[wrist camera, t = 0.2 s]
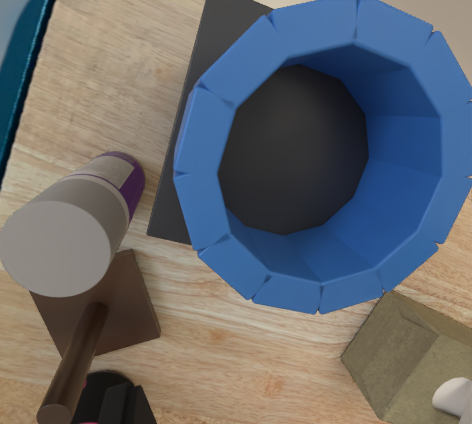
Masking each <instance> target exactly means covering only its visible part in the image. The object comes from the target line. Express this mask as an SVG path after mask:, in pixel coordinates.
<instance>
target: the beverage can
mask: <svg viewBox="0 0 472 424" xmlns="http://www.w3.org/2000/svg"><path fill="white" fill-rule="evenodd" d="M126 382H131V381H130V380H129V379H127V378H126V377H125V376H123V375H121V374H118V373H115V372H109V371H100V372H94V373H91V374H88V375H87V378H86V381H85V384H84V386H83V389H82V392H81V395H80V398H79V401H78V404H77V407H76V410H75V413H74V416H73V419H72V421H71V423H70V424H97V423H98V419H99V415H100V411H101V407H102V403H103V399H104V396H105V392H106V390H107V389H108V388H110V387H113V386H116V385H120V384H123V383H126Z"/></svg>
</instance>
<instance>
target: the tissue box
mask: <svg viewBox="0 0 472 424" xmlns="http://www.w3.org/2000/svg"><path fill="white" fill-rule="evenodd" d="M341 361H342V362H343V364H344V365H345V367H346V368H347V370H348V372H349V373H350V375H351V376H352V378H353V379H354V381H355V382H356V384H357V386H358V387H359V389H360V390H361V392H362V393H363V395H364V396H365V398H366V400H367V401H368V403H369V404H370V406H371V407H372V409H373V410H374V412H375V414H376V415H377V417H378V418H379V419H380V420H383V421H386V422H389V423H392V424H472V328H470V327H468V326H466V325H464V324H461V323H459V322H457V321H455V320H453V319H451V318H449V317H447V316H445V315H443V314H441V313H439V312H437V311H435V310H432V309H430V308H428V307H426V306H424V305H422V304H420V303H418V302H416V301H414V300H412V299H410V298H408V297H406V296H403V295H401V294H399V293H397V292H395V291H393V290H391V291H390V292H386V293H385V294H384V295H383V297H382V298H381V300H380V301H379V303H378V304H377V306H376V307H375V309H374V310H373V312H372V313H371V314H370V316H369V317H368V319H367V320H366V322H365V323H364V325H363V326H362V328H361V329H360V330H359V332H358V333H357V335H356V336H355V338H354V339H353V341H352V342H351V344H350V345H349V346H348V348H347V349H346V351H345V352H344V354H343V355H342V357H341Z"/></svg>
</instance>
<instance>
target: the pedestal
mask: <svg viewBox="0 0 472 424" xmlns="http://www.w3.org/2000/svg"><path fill="white" fill-rule="evenodd" d="M273 10H274V9H272V8H270V7H268V6H265V5H263V4H260V3H258V2H255V1H253V0H206V2H205V5H204V9H203V13H202V17H201V21H200V25H199V28H198V32H197V36H196V40H195V44H194V47H193V51H192V55H191V59H190V63H189V67H188V71H187V75H186V78H185V82H184V86H183V90H182V94H181V98H180V102H179V106H178V110H177V114H176V118H175V122H174V126H173V130H172V133H171V137H170V141H169V145H168V149H167V153H166V157H165V161H164V165H163V169H162V173H161V177H160V181H159V185H158V189H157V193H156V197H155V201H154V205H153V209H152V213H151V217H150V221H149V225H148V229H147V233H146V234H147V235H148V236H152V237H156V238H161V239H165V240H170V241H174V242H179V243H183V244H188V245H192V243H191V240H190V236H189V233H188V229H187V226H186V222H185V219H184V215H183V212H182V209H181V205H180V202H179V198H178V195H177V191H176V188H175V184H174V181H173V174H174V169H173V164H174V151H175V146H176V142H177V138H178V134H179V130H180V127H181V123H182V119H183V115H184V111H185V107H186V103H187V100H188V96H189V94H190V92H191V91H192V90H193V86H194V85H195V83H196V82H197V81H198V79H199V78H200V77H201V76H202V75H203V74H204V73H205V72H206V71H207V70H208V69H209V68H210V67H211V66H212V65H213V64H214V63H215V62H216V61H217V60H218V59H219V58H220V57H221V56H222V55H223V54H224V53H225V52H226V51H227V50H228V49H229V48H230V47H231V46H232V45H233V44H234V43H235V42H236V41H237V40H238V39H239V38H240V37H241V36H242V35H243V34H244V33H245V32H246V31H247V30H248V29H249V28H250V27H251V26H252V25H253V24H254V23H255V22H256V21H257V20H258V19H259V18H260V17H261V16H262V15H265V16H267V15H268V14H269V13H270V12H271V11H273ZM368 159H369V151H368V140H367V128H366V117H365V113H364V112H363V111H362V109H361V108H360V106H359V105H358V103H357V102H356V101H355V99H354V98H353V96H352V95H351V94H350V92H349V91H348V89H347V88H346V87H345V85H344V84H343V82H342V81H341V80H340V79H338V78H336V77H333V76H330V75H328V74H325V73H323V72H320V71H317V70H315V69H312V68H309V67H307V66H304V65H302V64H296V65H291V66H287V67H283V68H278V69H277V70H276V71H275V72H274V73H273V74H272V75H271V76H270V77H269V78H268V79H267V80H266V81H265V82H264V83H263V84H262V85H261V86H260V87H259V88H258V89H257V90H256V91H255V92H254V93H253V94H252V95H251V96H250V97H249V98H248V99H246V100H245V101H244V102H243V103H242V104H241V105H240V106H239V107H238V108H237V109H236V113H235V116H234V119H233V123H232V126H231V129H230V133H229V136H228V140H227V143H226V146H225V150H224V153H223V156H222V160H221V163H220V167H219V170H218V173H217V175H218V179H219V183H220V187H221V191H222V195H223V200H224V204H225V206H226V207H227V208H228V209H229V210H230V211H231V212H232V213H233V214H234V215H235V216H236V217H237V218H238V219H239V220H240V221H241V222H242V223H243V224H244V225H245V226H246V227H250V228H254V229H258V230H262V231H266V232H270V233H274V234H278V235H283V236H284V235H288V234H292V233H295V232H299V231H303V230H306V229H310V228H314V227H317V226H321V225H323V224H324V223H325V222H327V221H328V220H329V219H330V218H331V217H332V216H333V215H334V214H335V213H337V212H338V211H339V210H340V209H341V208H342V207H343V206H344V205H345V204H346V203H348V202H349V201H350V200H351V199H352V198H353V196H354V194H355V191H356V189H357V187H358V184H359V182H360V179H361V177H362V174H363V172H364V169H365V167H366V164H367V162H368Z"/></svg>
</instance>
